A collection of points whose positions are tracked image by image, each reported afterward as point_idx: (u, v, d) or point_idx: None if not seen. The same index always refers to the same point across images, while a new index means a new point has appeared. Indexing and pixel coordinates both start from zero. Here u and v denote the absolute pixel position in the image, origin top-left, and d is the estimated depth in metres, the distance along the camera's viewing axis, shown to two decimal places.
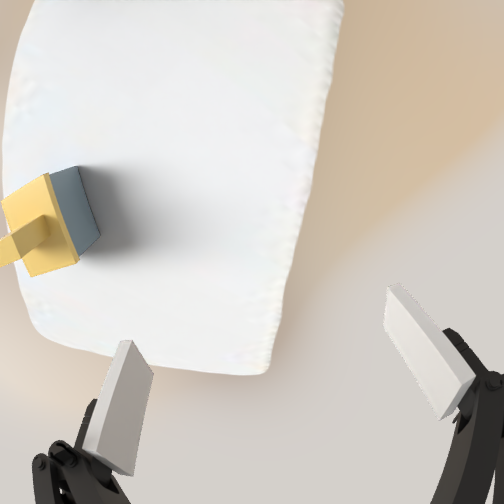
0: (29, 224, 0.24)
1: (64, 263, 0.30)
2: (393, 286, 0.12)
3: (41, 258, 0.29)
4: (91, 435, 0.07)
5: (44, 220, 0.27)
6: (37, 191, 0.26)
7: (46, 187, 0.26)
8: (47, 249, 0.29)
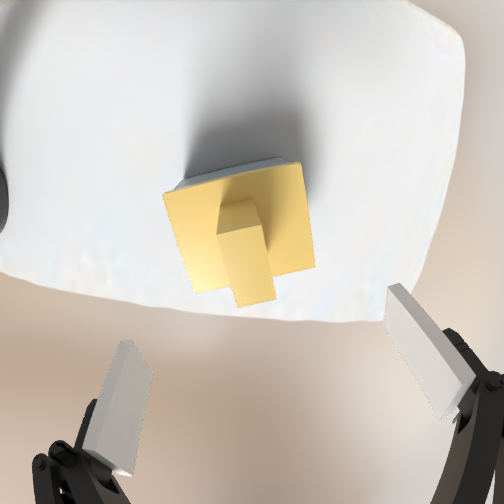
0: (220, 216, 0.21)
1: (299, 186, 0.24)
2: (393, 286, 0.12)
3: (288, 231, 0.26)
4: (91, 435, 0.07)
5: (228, 204, 0.24)
6: (185, 210, 0.24)
7: (180, 191, 0.23)
8: (274, 213, 0.25)
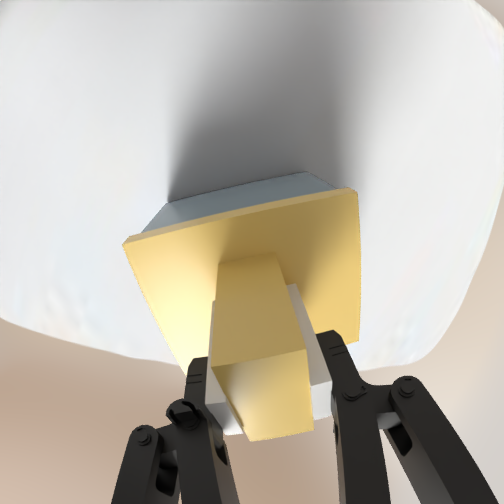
0: (219, 299, 0.11)
1: (352, 231, 0.14)
2: (287, 286, 0.14)
3: (327, 299, 0.16)
4: (213, 388, 0.09)
5: (233, 262, 0.14)
6: (160, 270, 0.14)
7: (151, 239, 0.13)
8: (308, 274, 0.15)
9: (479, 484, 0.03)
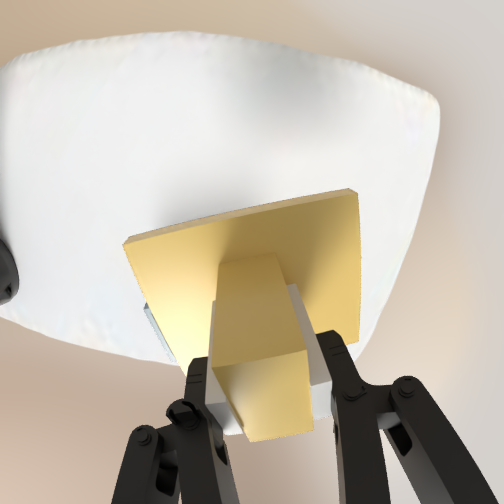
0: (219, 299, 0.11)
1: (352, 232, 0.14)
2: (287, 286, 0.14)
3: (327, 299, 0.16)
4: (213, 388, 0.09)
5: (233, 262, 0.14)
6: (161, 270, 0.14)
7: (151, 239, 0.13)
8: (308, 274, 0.15)
9: (479, 483, 0.03)
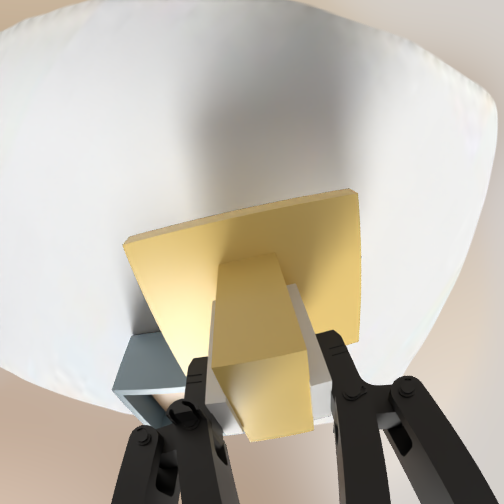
0: (219, 299, 0.11)
1: (352, 232, 0.14)
2: (287, 286, 0.14)
3: (327, 299, 0.16)
4: (213, 388, 0.09)
5: (233, 262, 0.14)
6: (161, 270, 0.14)
7: (151, 239, 0.13)
8: (308, 275, 0.15)
9: (479, 483, 0.03)
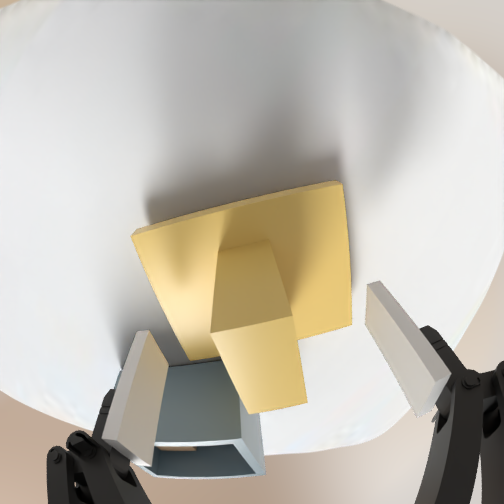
0: (218, 279, 0.13)
1: (339, 220, 0.15)
2: (373, 284, 0.12)
3: (319, 283, 0.17)
4: (111, 424, 0.08)
5: (231, 249, 0.16)
6: (165, 258, 0.16)
7: (157, 230, 0.15)
8: (300, 260, 0.16)
9: None
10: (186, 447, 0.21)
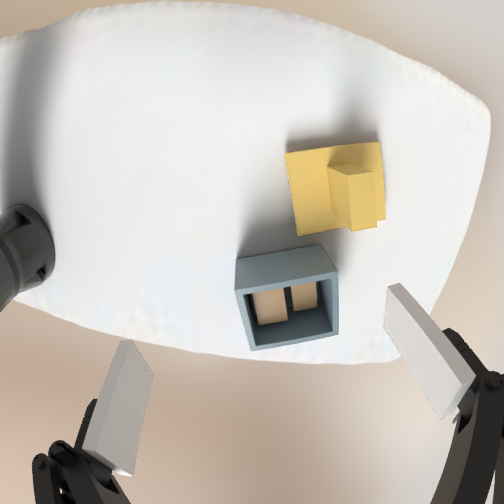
0: (336, 170, 0.28)
1: (378, 158, 0.31)
2: (393, 286, 0.12)
3: None
4: (91, 435, 0.07)
5: (333, 165, 0.31)
6: (301, 167, 0.31)
7: (299, 152, 0.30)
8: None
9: None
10: (282, 316, 0.36)
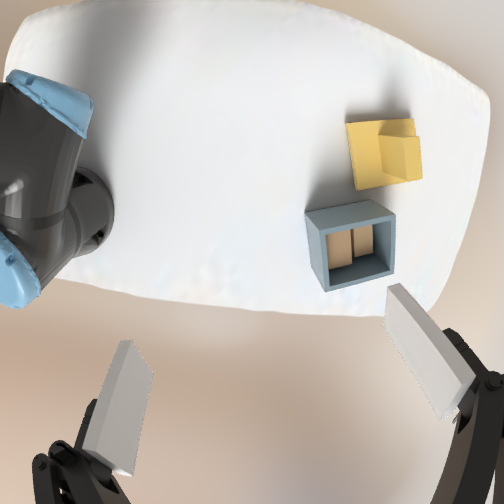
0: (389, 136, 0.33)
1: (413, 131, 0.35)
2: (393, 286, 0.12)
3: None
4: (91, 435, 0.07)
5: (382, 134, 0.35)
6: (360, 134, 0.36)
7: (358, 123, 0.35)
8: None
9: None
10: (347, 259, 0.41)
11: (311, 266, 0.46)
